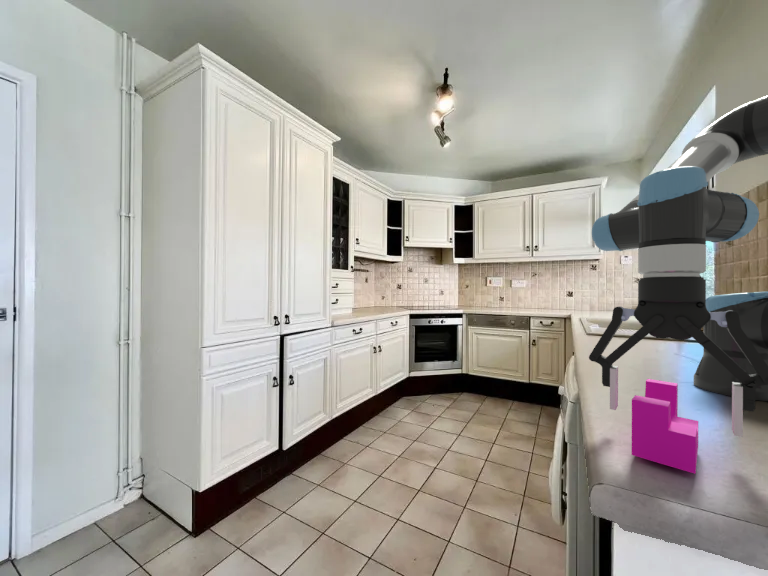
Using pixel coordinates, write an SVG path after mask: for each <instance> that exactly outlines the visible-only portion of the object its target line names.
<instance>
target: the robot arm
mask: <svg viewBox="0 0 768 576" xmlns="http://www.w3.org/2000/svg"><path fill="white" fill-rule="evenodd" d="M766 155H768V94H767V95H766V96H761V97H760V98H757V99H754V100H752V101H749V102H747V103H744V104H742V105H740V106H738V107H736V108H733V110H731V111H729V112H727V113H726V114H724V115H723V116H721V117H719V118H718V119H717V120H715V121H714V122H713V123H711V124H710V125H708V126H707V127H705V128H704V129H703V130H702V131H700V132H699V133H698V134H696V135H695V136H694V138H692V139H691V140H690V141H689V142H688V143H687V144H686V145H685V146H684V148H683V149H682V151H681V156H679V157H678V158H677V159H676V160H675V161H674V162H672V163H671V164H670V165H669V166H668V167H667V168H665V169H663V170H659V171H656V172H652V173H651V174H649V175H647V176H645V177H643V179H642V180H641V181H640V183H639V192H638V194H637V195H636V196H635V197H634V198H633V199H632V200H630V202H629V203H628V204H626V205H625V206H624V207H623V208H621V210H619V211H617V212H616V213H609V214H606V215H604V216H600V217H598V218H597V219H596V220H595V221H594V223H593V225H592V227H591V238H592V241H593V242H594V245H595V246H596V247H597V248H598V249H599V250H601V251H604V252H613V251H614V252H615V251H619V252H624V251H627V250H634V249H638V250H637V251H638V253H637V254H638V255H637V258H638V260H637V263H638V264H637V267H638V268H637V269H638V271H637V272H638V274H640V275H642V276H643V277H641V278H639V280H637V281H638V283H637V284H638V286H637V287H638V288H637V306H636V308H635V309H633V308H628V307H627V308H625V307H623V306H615V307H614V308H613V310H612V316H611V321H610V322H609V324H608V325H607V328H606V329H605V331H604V332H603V334H602V335H601V337H600V338H599V340H598V341H597V343H596V345H595V346H594V348H593V349H592V350H591V352H590V354H589V356H588V359H589V360H590V361H591V362H594V363H596V364H599V365H600V366H601V383H602V384H601V385H603V387H608V388H609V410H612V411H616V410H617V408H618V407H619V366H618V365H613V364H614V363H616V362H617V361H618V360H619V359H620V358H621V357H622V356H624V355H625V354H627V352H629V351H630V350H631V349H632V348H633V347H635V346H636V344H637V345H638V343H640V342H641V340H643V339H644V338H646V337H647V336H648V335H650V336H652V337H653V338H656V339H661V340H663V339H673V340H676V341H685V340H686V341H687V340H690V339H691V338H692V339H694V340H695V341H696V342H697V343H698V344H699V345H700V346H701V347H703V354H702V357H701V359H700V361H699V364H698V366H697V368H696V370H695V373H694V374H693V385H694V386H695V385H696V386H695V387H697V386H698V387H697V388H699V389H701V388H702V390H704V391H707V392H712V393H716V394H719V395H723V396H728V397H731V430H732V433H733V436H735V437H739V438H743V437H744V435H743V434H744V432H743V431H744V425H743V424H744V422H743V421H744V415H743V413H744V412H743V411H747V412H752V413H753V412H754V411H755V409H756V401H762V402H768V291H754V292H738V293H737V292H736V293H728V294H727V293H726V294H717V295H711V296H708V297H707V293H706V292H707V290H706V289H707V288H706V287H707V283H706V282H707V281H706V280H707V279H705V278H704V277H702V276H701V275H700V274H704V273H705V272H706V271H707V270H706V269H707V245H706V244H707V243H706V242H711V243H720V242H722V243H724V242H731V241H736V240H738V239H741V238H743V237H745V236H747V234H749V233H751V231H753V230H754V228H755V227H756V225H757V224H758V222H759V216H760V212H759V208H758V206H757V204H756V203H755V202H754V201H753V200H752V199H750V198H747V197H745V196H742V195H740V194H737V193H734V192H731V193H730V192H729V191H726V192H724V191H718V190H711V189H709V188H707V187H708V185H709V182H710V181H711V179H712V178H713V177H714V176H715V175H718V174H720V173H722V172H725V171H727V170H728V169H730V168H731V167H732V166H733V165H735V164H737V163H740V162H744V161H747V160H749V159H753V158H756V157H757V158H758V157H760V156H766ZM631 317H634V318H635V319H636V320H637V322H638V323H639V324H640V325H641V326H642V327H640V328H639V329H638V330H636V331H635V333H633V334H632V335H631V336H630V337H629V338H627V339H625V341H624V342H622V344H620V345H619V346H618V347H617V348H616V349H615V350H613V351H612V352H611V353H609V355H608V356H605V355H603V353H604V352H605V350H606V348H607V347H608V346H609V344H610V343H611V341H612V339H613V338H614V336H615V335H616V333H617V331H618V330H619V328H620V327H621V325H622V324H623V322H626V321H628V320H629V319H630V318H631ZM702 328H703V331H702Z"/></svg>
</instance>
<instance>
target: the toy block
mask: <svg viewBox="0 0 768 576" xmlns="http://www.w3.org/2000/svg"><path fill="white" fill-rule="evenodd" d="M678 386H679V385H678V382H672V381H671V382H670V381H664V380H658V379H652V378H647V379H646V380H645V388H644V389H645V391H644V396H642V395H634V396H633V398H632V399H631V456H634V457H638V458H641V459H644V460H648V461H651V462H654V463H658V464H660V465H664V466H668V467H672V468H674V469H679V470H680V471H684V472H688V473H690V474H696V472H697V461H698V454H699V453H698V451H699V420H695V419H691V418H686V417H681V416H678V403H679V402H678V397H679V396H678Z"/></svg>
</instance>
